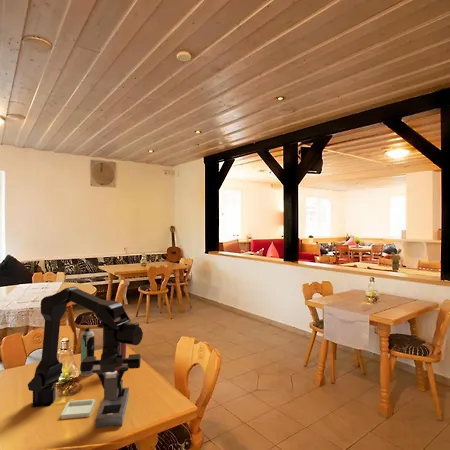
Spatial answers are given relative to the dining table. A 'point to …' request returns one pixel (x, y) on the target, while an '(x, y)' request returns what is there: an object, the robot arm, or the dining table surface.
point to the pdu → (113, 409)
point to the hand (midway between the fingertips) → (111, 388)
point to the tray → (78, 409)
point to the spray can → (87, 348)
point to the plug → (111, 386)
